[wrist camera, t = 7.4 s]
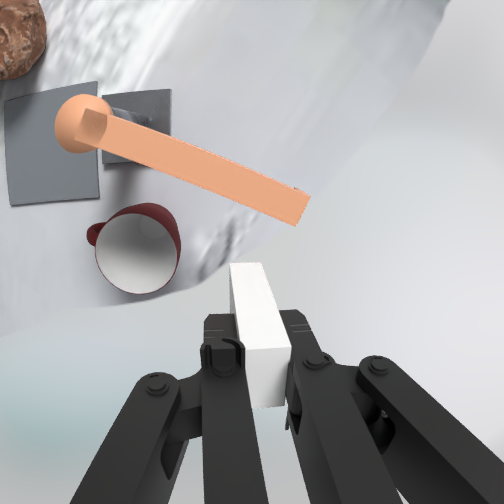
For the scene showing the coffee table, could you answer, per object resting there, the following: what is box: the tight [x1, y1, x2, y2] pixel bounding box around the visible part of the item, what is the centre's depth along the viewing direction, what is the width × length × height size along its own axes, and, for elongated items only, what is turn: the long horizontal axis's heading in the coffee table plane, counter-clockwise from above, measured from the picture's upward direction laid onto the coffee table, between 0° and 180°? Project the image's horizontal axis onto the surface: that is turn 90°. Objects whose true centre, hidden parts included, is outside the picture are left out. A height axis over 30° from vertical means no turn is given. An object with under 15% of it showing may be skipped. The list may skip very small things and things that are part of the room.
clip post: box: [102, 89, 172, 164], centre depth 26 cm, size 8×8×14 cm
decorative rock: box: [0, 0, 47, 80], centre depth 21 cm, size 13×11×10 cm
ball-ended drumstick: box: [54, 94, 310, 226], centre depth 21 cm, size 4×19×4 cm, turn 66°
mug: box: [87, 203, 181, 294], centre depth 32 cm, size 11×8×10 cm
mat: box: [5, 81, 100, 205], centre depth 31 cm, size 14×14×1 cm
